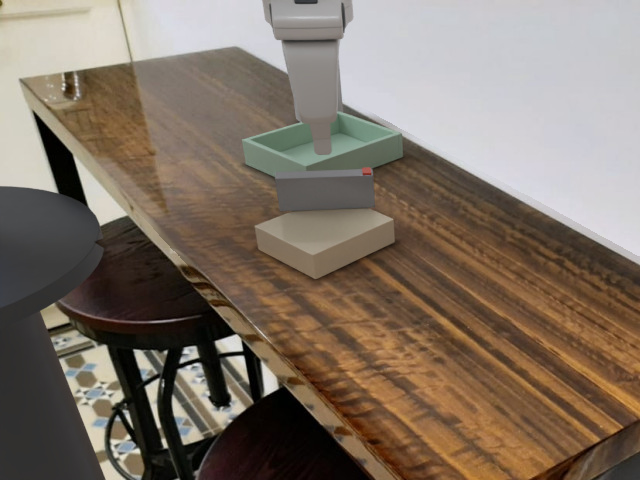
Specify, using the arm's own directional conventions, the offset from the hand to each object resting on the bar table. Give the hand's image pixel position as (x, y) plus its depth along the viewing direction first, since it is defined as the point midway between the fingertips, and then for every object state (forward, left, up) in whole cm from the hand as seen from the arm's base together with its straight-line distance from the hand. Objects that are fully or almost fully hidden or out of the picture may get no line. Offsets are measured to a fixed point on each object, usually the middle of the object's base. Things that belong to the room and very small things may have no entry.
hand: (323, 136), depth 83 cm
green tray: (+14, +17, -11) cm, 25 cm away
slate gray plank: (0, 0, -8) cm, 8 cm away
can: (+24, +30, -12) cm, 40 cm away
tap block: (-3, -3, -11) cm, 12 cm away
